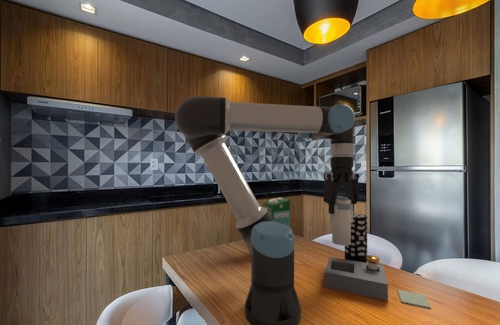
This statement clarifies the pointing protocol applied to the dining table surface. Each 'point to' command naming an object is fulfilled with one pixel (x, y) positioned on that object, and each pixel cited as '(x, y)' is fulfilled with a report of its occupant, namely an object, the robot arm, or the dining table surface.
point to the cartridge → (342, 222)
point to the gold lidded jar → (372, 262)
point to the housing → (356, 278)
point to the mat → (413, 298)
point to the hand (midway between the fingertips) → (341, 222)
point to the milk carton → (279, 210)
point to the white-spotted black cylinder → (357, 239)
